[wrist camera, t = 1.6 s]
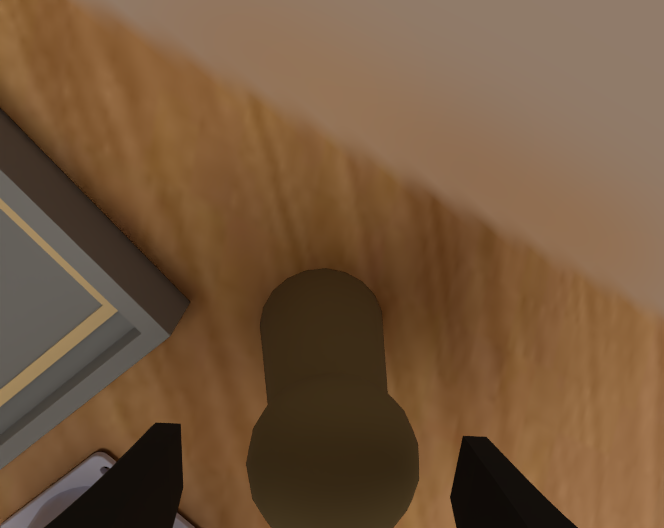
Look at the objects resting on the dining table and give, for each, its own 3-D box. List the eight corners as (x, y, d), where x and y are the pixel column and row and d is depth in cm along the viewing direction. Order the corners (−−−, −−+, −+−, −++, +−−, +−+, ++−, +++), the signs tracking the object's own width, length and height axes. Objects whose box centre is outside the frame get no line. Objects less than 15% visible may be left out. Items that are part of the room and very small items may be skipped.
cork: (312, 243, 22) (321, 365, 11) (408, 317, 23) (493, 486, 13) (234, 336, 23) (178, 523, 13) (329, 401, 25) (349, 616, 14)
